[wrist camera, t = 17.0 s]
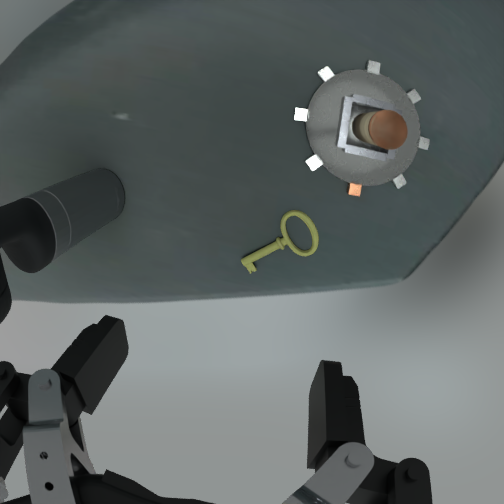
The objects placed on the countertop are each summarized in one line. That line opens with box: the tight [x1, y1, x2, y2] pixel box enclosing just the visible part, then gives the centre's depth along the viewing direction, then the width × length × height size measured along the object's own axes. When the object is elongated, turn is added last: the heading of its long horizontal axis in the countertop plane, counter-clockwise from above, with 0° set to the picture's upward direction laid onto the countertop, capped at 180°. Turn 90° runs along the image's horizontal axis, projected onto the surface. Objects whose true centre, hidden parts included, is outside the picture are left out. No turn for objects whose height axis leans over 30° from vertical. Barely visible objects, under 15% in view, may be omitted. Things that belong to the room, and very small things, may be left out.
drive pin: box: [352, 110, 408, 150], centre depth 30 cm, size 4×4×10 cm
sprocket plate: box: [294, 60, 430, 196], centre depth 34 cm, size 19×19×4 cm
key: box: [241, 210, 319, 274], centre depth 44 cm, size 7×12×2 cm, turn 139°
